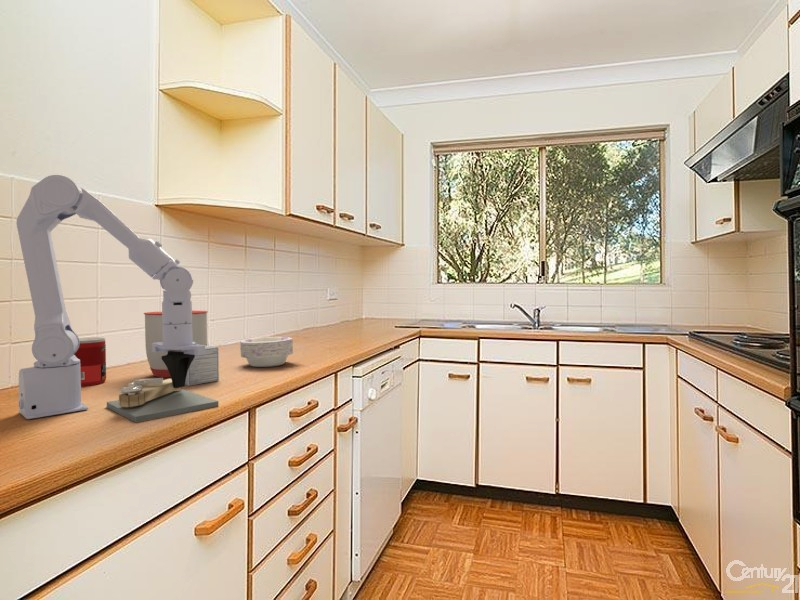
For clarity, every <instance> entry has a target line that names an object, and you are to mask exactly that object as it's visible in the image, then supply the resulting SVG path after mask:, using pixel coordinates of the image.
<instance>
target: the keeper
mask: <svg viewBox="0 0 800 600" xmlns="http://www.w3.org/2000/svg"><path fill="white" fill-rule="evenodd" d="M163 380H164V378H162V377H152V378H150V377H149V378H136V379H135V378H134V379H133V380H132V383H135V386H142V387H144V386H148V385H155V384H162V383H163Z"/></svg>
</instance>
